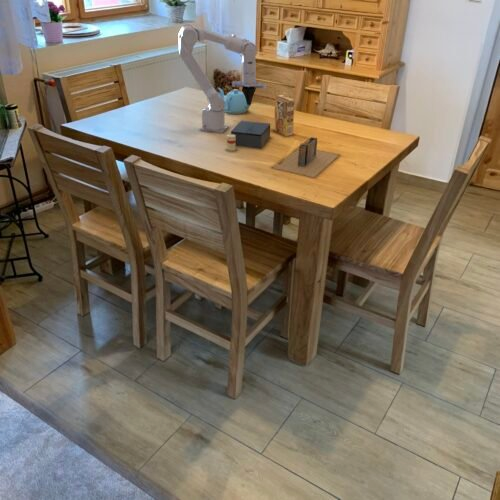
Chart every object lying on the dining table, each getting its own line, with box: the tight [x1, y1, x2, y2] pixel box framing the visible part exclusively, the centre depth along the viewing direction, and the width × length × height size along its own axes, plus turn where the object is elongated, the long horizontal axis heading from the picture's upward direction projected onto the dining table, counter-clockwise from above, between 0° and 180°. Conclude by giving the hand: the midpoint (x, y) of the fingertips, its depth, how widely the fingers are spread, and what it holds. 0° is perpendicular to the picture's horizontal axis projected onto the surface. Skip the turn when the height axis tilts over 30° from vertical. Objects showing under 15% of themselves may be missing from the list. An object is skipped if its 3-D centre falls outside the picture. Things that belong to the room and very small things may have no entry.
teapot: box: [217, 87, 252, 115], centre depth 242 cm, size 15×15×10 cm
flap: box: [230, 119, 257, 134], centre depth 206 cm, size 6×15×1 cm, turn 164°
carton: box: [230, 121, 271, 149], centre depth 207 cm, size 13×15×6 cm
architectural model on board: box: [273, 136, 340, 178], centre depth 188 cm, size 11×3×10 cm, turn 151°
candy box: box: [273, 94, 296, 137], centre depth 214 cm, size 9×4×15 cm, turn 33°
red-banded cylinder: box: [226, 133, 237, 152], centre depth 198 cm, size 3×3×6 cm
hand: (249, 104), depth 218 cm, fingers closed
